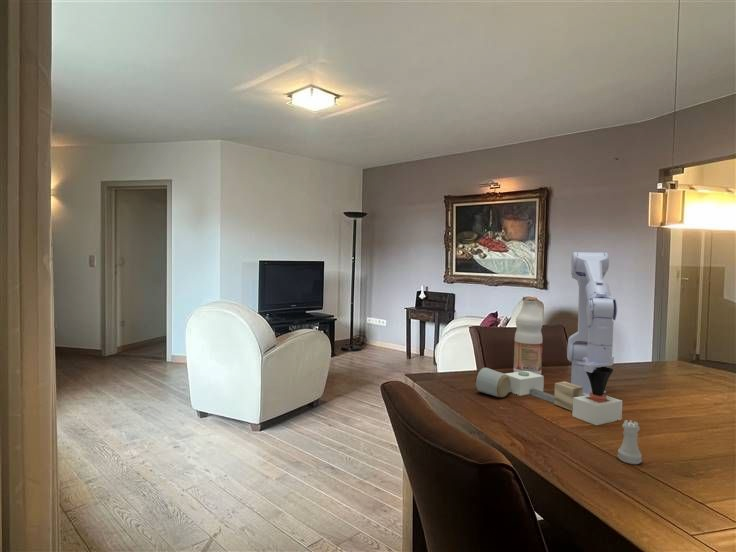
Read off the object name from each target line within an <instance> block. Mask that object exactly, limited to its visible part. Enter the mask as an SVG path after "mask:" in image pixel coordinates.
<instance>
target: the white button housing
mask: <svg viewBox="0 0 736 552" xmlns="http://www.w3.org/2000/svg"><path fill="white" fill-rule="evenodd" d="M571 415H572V417H573V418H576V419H578V420H581V421H584V422H586V423H589V424H592V425H595V426H601V425H605V424H608V423H613V422H617V420H618V421H621V420H622V419H623V400H621V399H618V398H616V397H615V398H614V397H612V396H609V395H606V399H605V401H604V402H601V403H599V402H596V401H593V400H591V397H590V396H589V395H585V396H579V397H574V398H573V411H572V414H571Z"/></svg>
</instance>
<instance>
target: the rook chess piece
mask: <svg viewBox="0 0 736 552" xmlns="http://www.w3.org/2000/svg"><path fill="white" fill-rule="evenodd" d="M621 427H622V428H623V431H622V434H623V440H622V444H621V445H620V447H619V448H618V450H617V452H618V454H617V456H616V457H617V458H618V459H619V460H620V461H621V462H623V463H625V464H627V465H639V464H641V463H642V462H643V459H642V452H640V449H639V445H638V437H639V433H638V432H639V431H640V430H641V428H640V426H639V422H637V421H633V420H627V419H625V420H624V421H623V423H622V424H621Z"/></svg>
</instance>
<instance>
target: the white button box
mask: <svg viewBox="0 0 736 552" xmlns="http://www.w3.org/2000/svg"><path fill="white" fill-rule="evenodd" d="M504 374H505V375H507V376H508V377H509V378H510V382H511V386H510V387H511V391H510V392H509V393H511V392H512V394H514V395H516V394H517V395H516V396H526V395H527V396H528V395H530V390H531V389H537V390H540V391H543V392H544V387H545V386H544V385H545V384H544V382H545V377H544V375H542V374H541V375H539V374H536V373H533V372H529V371H521V372H514V371H513V372H507V373H504Z"/></svg>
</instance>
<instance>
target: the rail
mask: <svg viewBox="0 0 736 552" xmlns="http://www.w3.org/2000/svg"><path fill="white" fill-rule="evenodd" d="M529 395H530V396H534V397H536V398H539V399H541V400H544V401H546V402H549V403H552V404H554V395H553V394H551V393H548V392H545V391H544V390H543V391H540V390H537V389H531V390H530V394H529Z"/></svg>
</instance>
